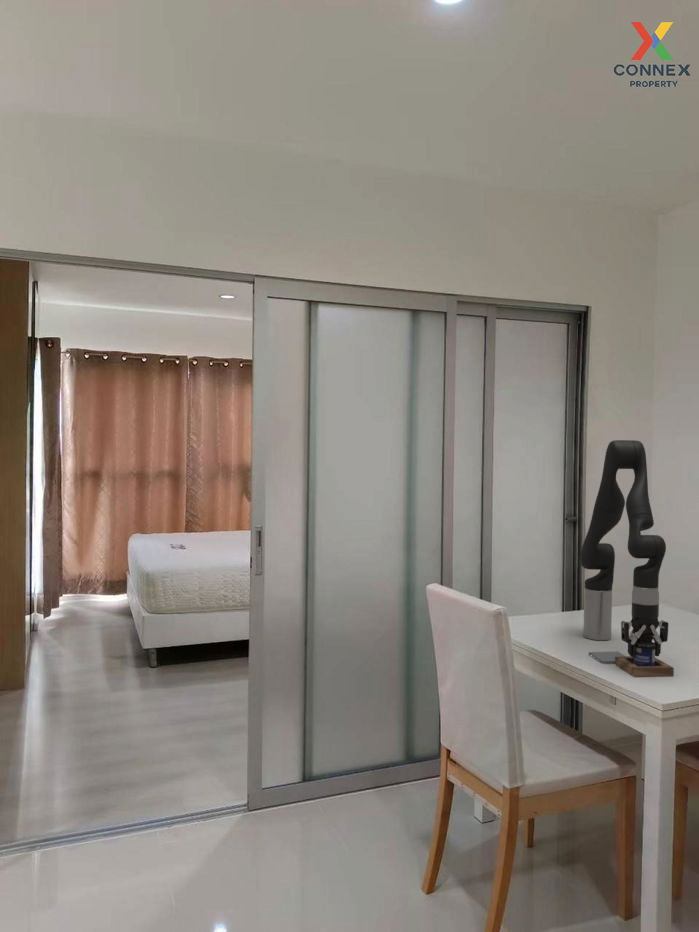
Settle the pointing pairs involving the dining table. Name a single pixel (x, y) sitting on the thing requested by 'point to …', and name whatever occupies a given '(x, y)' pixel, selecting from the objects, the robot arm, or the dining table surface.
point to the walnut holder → (644, 668)
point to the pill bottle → (644, 651)
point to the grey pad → (606, 656)
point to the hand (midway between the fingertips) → (644, 655)
